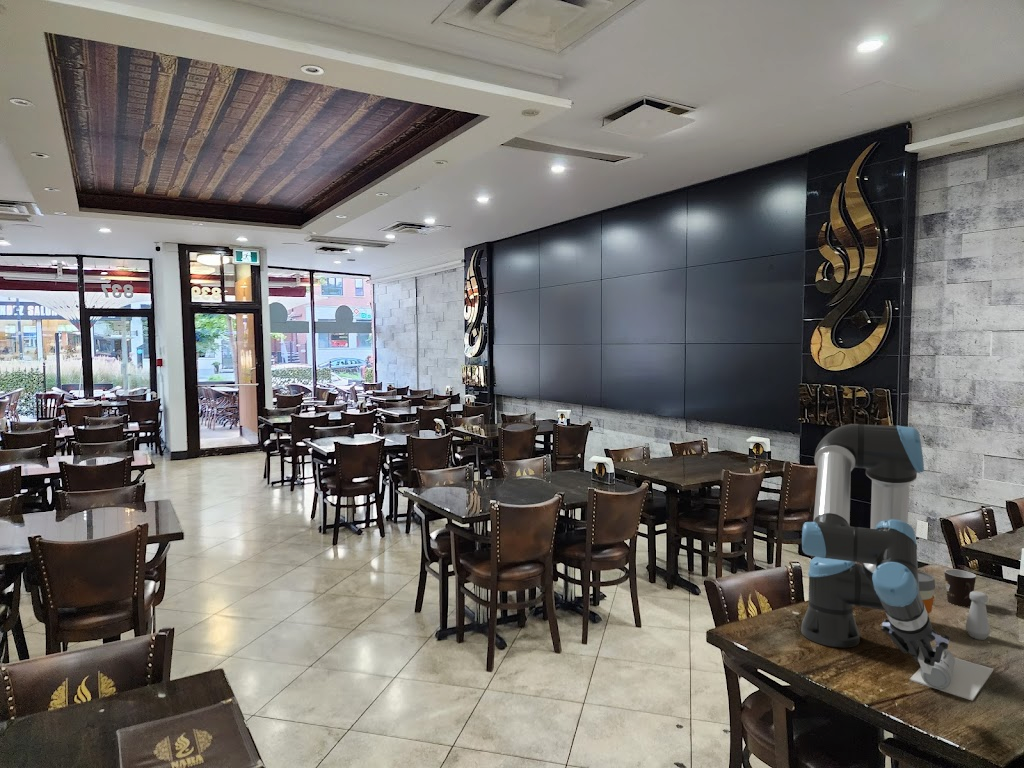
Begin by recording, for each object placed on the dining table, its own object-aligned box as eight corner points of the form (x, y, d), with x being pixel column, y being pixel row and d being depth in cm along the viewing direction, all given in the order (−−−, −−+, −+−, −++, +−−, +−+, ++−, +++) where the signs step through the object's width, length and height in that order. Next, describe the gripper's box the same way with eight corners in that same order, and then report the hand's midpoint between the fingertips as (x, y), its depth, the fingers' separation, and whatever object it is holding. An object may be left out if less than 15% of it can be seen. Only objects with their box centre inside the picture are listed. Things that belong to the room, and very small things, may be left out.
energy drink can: (920, 661, 155) (928, 641, 166) (920, 686, 155) (927, 663, 167) (950, 669, 151) (955, 647, 163) (949, 694, 151) (955, 670, 163)
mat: (972, 700, 149) (972, 699, 149) (909, 680, 158) (909, 678, 158) (993, 670, 164) (993, 668, 164) (934, 653, 173) (934, 651, 173)
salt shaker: (994, 642, 180) (995, 597, 180) (971, 640, 181) (972, 595, 181) (983, 633, 186) (984, 589, 186) (961, 631, 187) (962, 588, 187)
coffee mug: (944, 596, 215) (945, 567, 215) (976, 602, 210) (977, 572, 210) (941, 606, 206) (942, 576, 206) (973, 613, 201) (974, 582, 201)
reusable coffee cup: (891, 628, 189) (892, 579, 189) (881, 612, 201) (882, 566, 201) (939, 634, 185) (941, 583, 185) (927, 617, 197) (928, 570, 197)
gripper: (869, 622, 137) (892, 672, 149) (939, 641, 127) (958, 694, 139) (878, 592, 140) (900, 643, 152) (947, 609, 131) (965, 662, 143)
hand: (928, 667), depth 146 cm, fingers closed
